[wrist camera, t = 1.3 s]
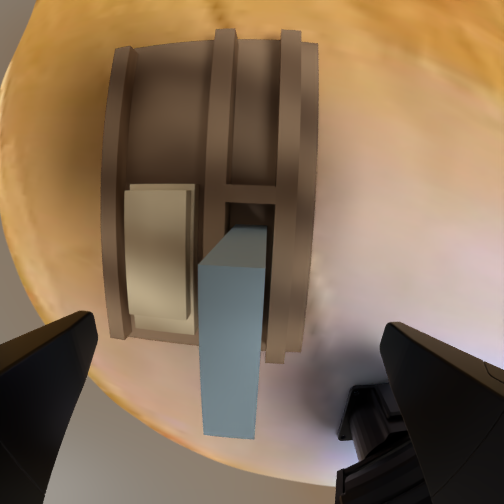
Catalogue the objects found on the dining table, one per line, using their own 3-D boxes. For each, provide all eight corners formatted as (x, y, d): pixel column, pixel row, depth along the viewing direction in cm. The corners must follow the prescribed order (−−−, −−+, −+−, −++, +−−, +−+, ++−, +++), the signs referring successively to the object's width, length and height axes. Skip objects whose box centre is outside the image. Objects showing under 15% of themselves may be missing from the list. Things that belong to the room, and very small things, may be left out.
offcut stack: (198, 327, 22) (190, 342, 19) (141, 321, 22) (129, 335, 19) (199, 184, 20) (189, 183, 17) (137, 184, 20) (121, 184, 17)
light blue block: (261, 326, 21) (254, 439, 10) (232, 324, 21) (203, 434, 11) (267, 225, 20) (265, 268, 9) (235, 223, 20) (198, 264, 9)
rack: (299, 345, 22) (304, 370, 19) (124, 329, 23) (105, 349, 20) (316, 49, 18) (323, 27, 15) (130, 54, 19) (110, 37, 15)
